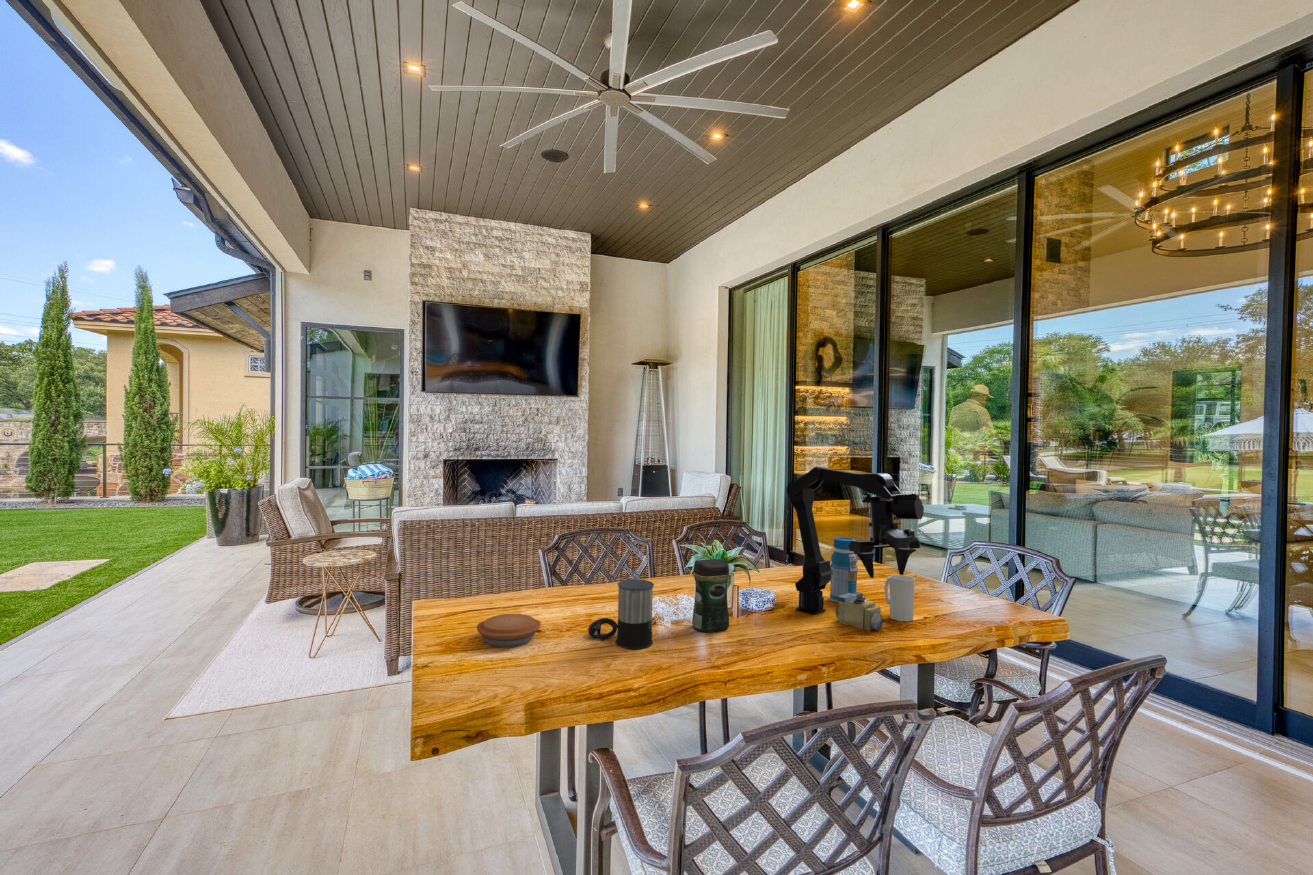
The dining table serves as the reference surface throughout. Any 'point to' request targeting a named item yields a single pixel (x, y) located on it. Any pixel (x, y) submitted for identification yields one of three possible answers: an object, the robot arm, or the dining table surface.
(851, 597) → the lever
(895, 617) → the mug
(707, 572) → the coffee jar
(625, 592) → the milk frother
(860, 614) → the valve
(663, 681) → the dining table surface
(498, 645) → the pie
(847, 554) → the beverage bottle
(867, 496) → the robot arm
